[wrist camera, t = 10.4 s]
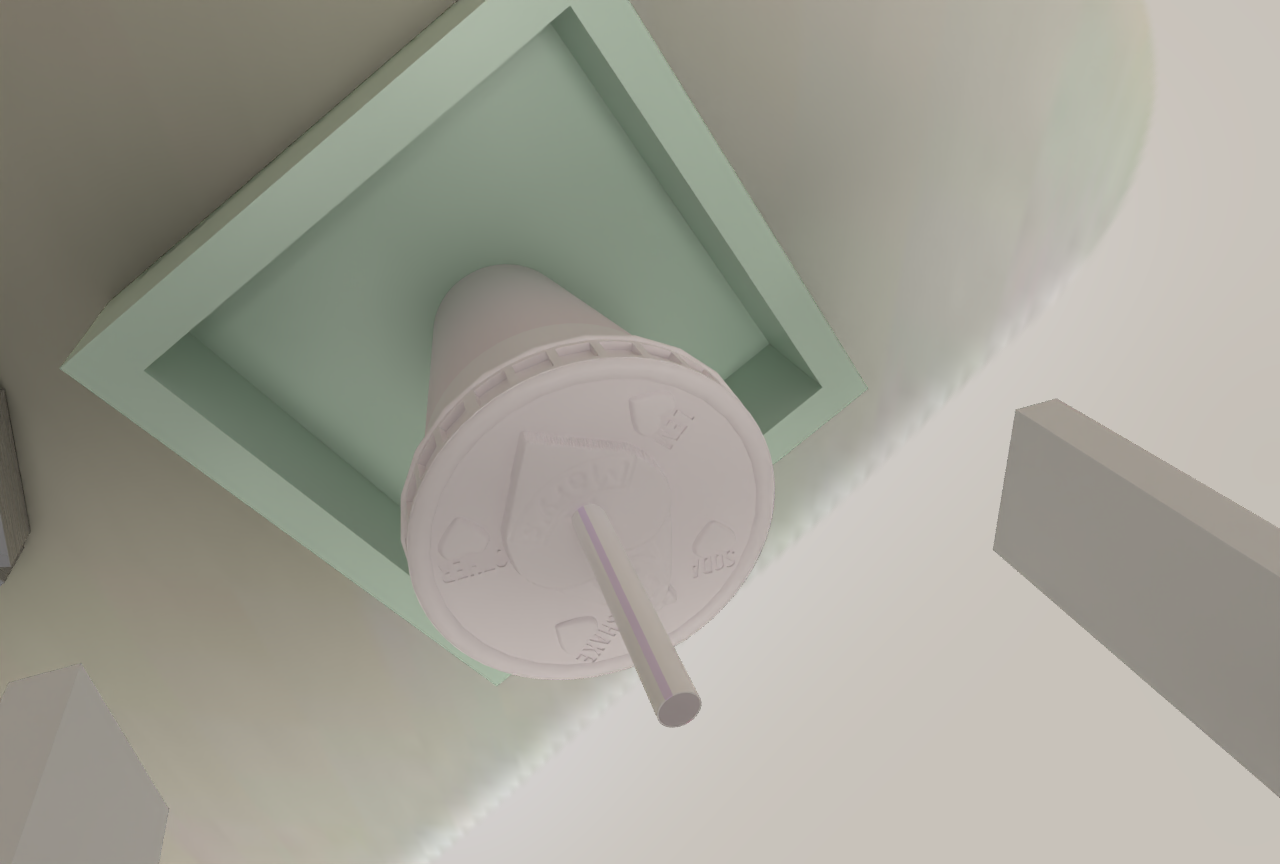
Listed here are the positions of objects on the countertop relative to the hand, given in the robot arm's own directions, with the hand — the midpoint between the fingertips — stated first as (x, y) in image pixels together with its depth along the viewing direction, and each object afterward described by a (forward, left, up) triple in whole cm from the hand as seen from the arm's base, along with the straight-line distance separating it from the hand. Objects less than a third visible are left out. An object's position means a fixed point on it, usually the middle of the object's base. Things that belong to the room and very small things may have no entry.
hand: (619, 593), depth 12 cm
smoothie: (0, 0, -12) cm, 12 cm away
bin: (0, 0, -12) cm, 12 cm away
